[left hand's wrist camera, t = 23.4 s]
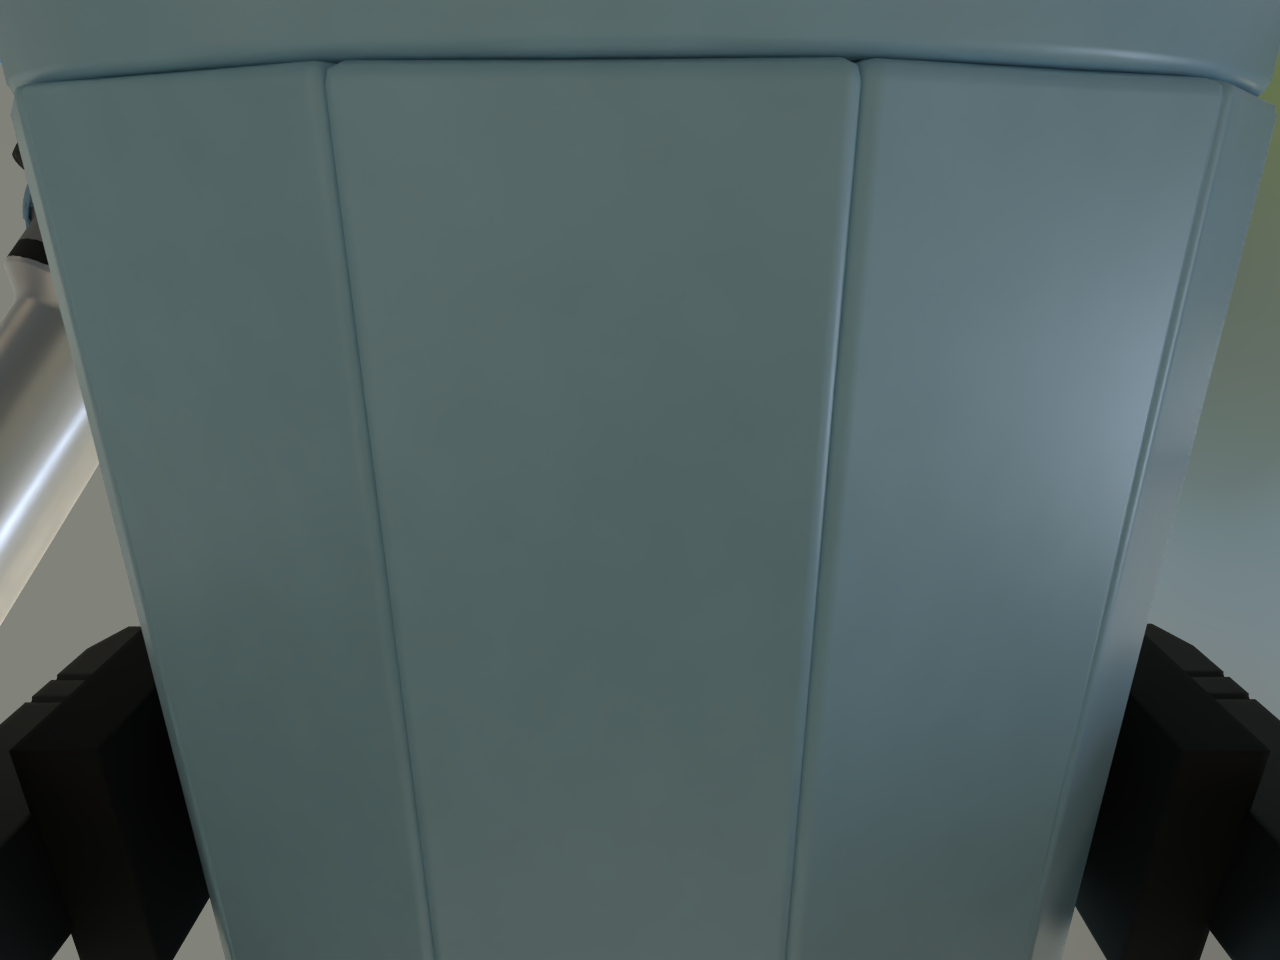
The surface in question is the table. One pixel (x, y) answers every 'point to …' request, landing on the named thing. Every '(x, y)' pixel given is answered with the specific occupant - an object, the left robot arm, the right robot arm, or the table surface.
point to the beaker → (643, 444)
